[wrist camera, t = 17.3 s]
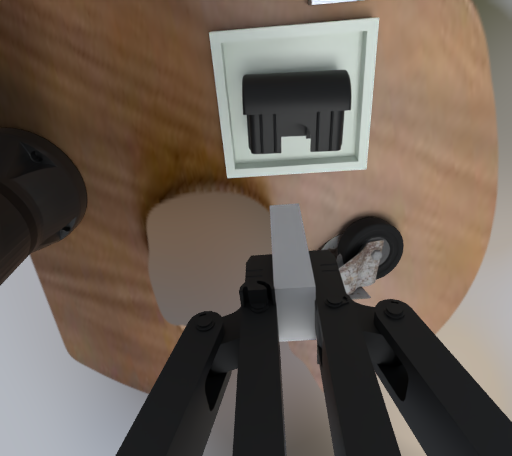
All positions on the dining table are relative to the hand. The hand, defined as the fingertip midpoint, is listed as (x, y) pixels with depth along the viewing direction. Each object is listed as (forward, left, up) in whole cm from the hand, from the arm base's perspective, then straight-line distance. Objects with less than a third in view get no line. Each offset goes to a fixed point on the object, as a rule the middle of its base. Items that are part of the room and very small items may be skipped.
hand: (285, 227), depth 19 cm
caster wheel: (+10, -18, -26) cm, 33 cm away
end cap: (+2, +1, -25) cm, 25 cm away
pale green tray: (+2, +3, -25) cm, 26 cm away
